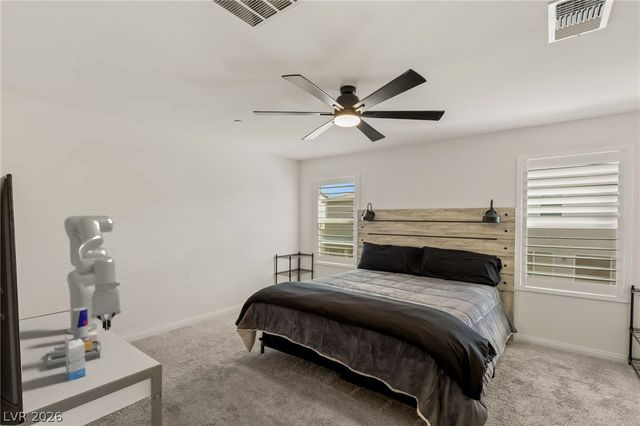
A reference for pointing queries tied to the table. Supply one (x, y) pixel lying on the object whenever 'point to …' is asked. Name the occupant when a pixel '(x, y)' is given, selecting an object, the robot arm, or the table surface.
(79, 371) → the ink box
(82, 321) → the beverage can
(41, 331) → the table surface
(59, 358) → the console
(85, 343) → the block
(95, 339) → the block
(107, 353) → the table surface
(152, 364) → the table surface
